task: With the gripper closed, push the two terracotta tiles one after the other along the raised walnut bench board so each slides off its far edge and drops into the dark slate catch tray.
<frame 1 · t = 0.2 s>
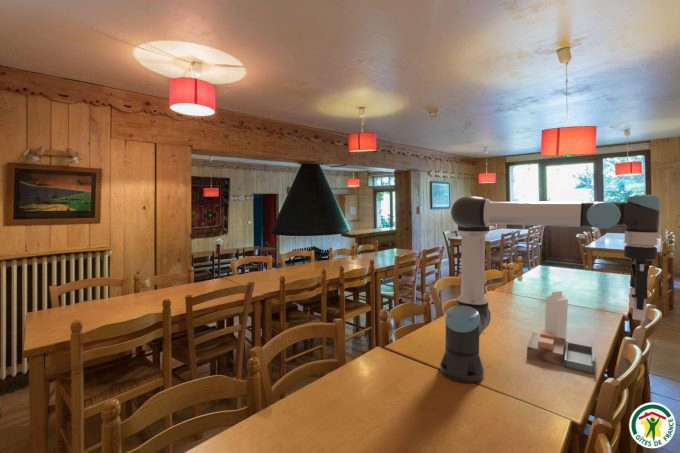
hand: (636, 313, 104), 28 cm above the table, tool pointing down, fingers open, 13 cm apart
tile a: (545, 346, 135), point 4 cm above the table, touching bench
milk: (555, 339, 153), on the table
tile b: (547, 339, 142), point 4 cm above the table, touching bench
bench: (546, 353, 139), on the table
tray: (578, 360, 132), on the table
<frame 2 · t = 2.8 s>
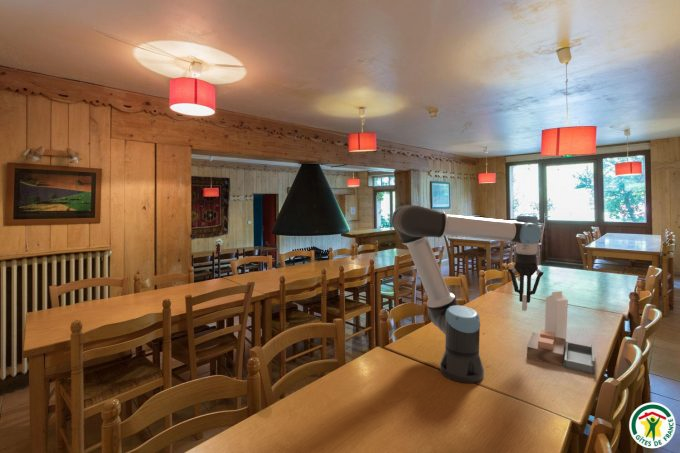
hand: (524, 309, 138), 18 cm above the table, tool pointing down, fingers closed
nothing on the table moved.
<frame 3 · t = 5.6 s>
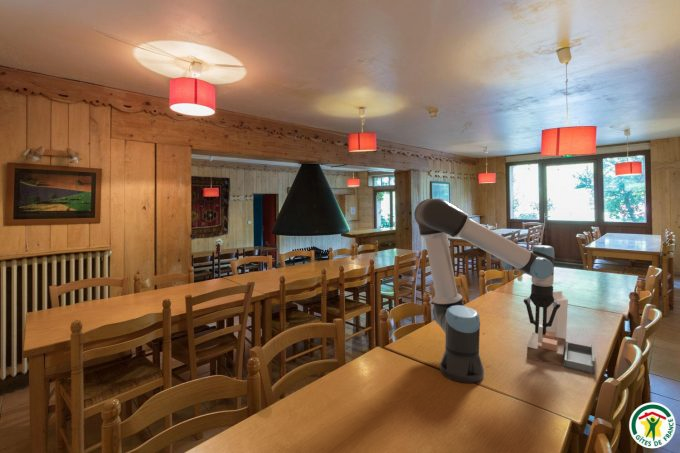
hand: (540, 341, 136), 6 cm above the table, tool pointing down, fingers closed
tile a: (549, 347, 134), point 5 cm above the table
everything else where it was.
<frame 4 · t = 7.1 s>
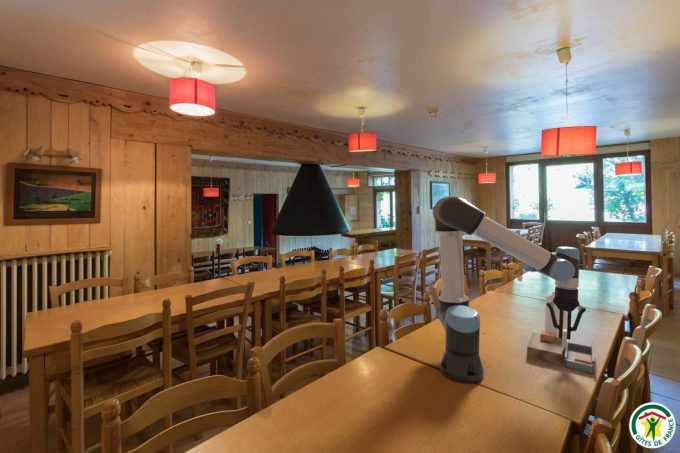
hand: (564, 346, 131), 6 cm above the table, tool pointing down, fingers closed
tile a: (582, 357, 128), point 3 cm above the table, tilted 180°, touching tray
everything else where it was.
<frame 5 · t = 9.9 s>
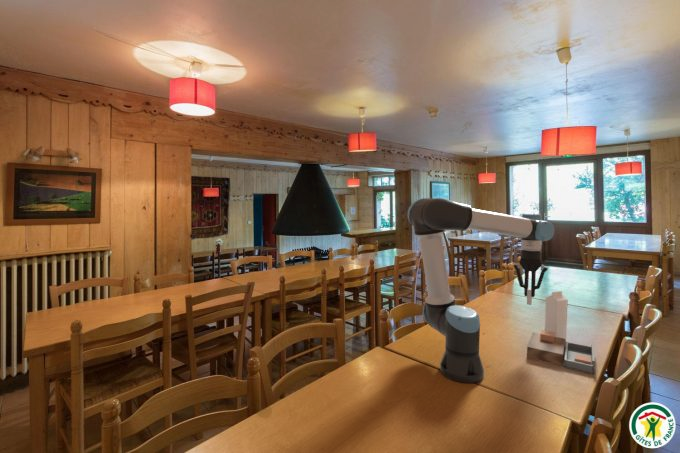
hand: (529, 303, 145), 19 cm above the table, tool pointing down, fingers closed
nothing on the table moved.
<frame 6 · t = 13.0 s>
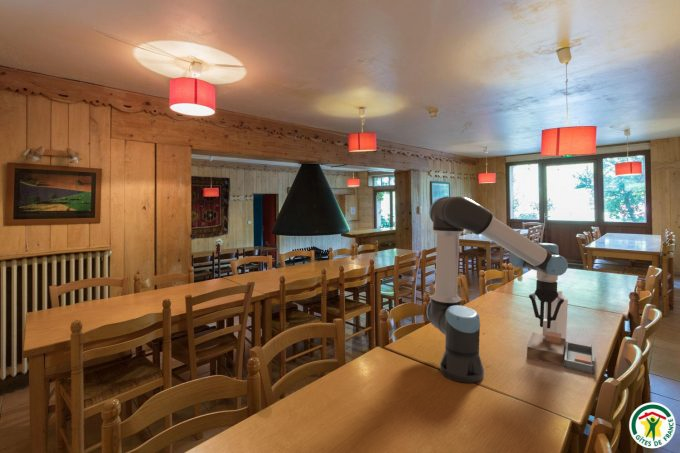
hand: (544, 334, 143), 6 cm above the table, tool pointing down, fingers closed
tile b: (553, 340, 141), point 5 cm above the table, touching gripper
everything else where it was.
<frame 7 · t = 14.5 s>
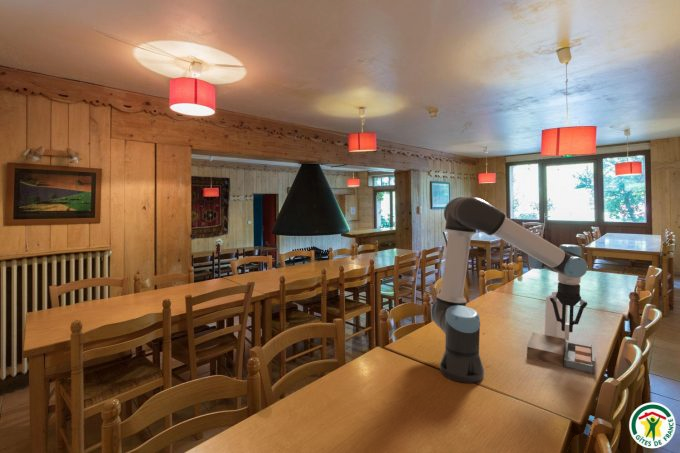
hand: (566, 339, 138), 6 cm above the table, tool pointing down, fingers closed
tile b: (582, 349, 135), point 3 cm above the table, tilted 180°, touching tray
everything else where it was.
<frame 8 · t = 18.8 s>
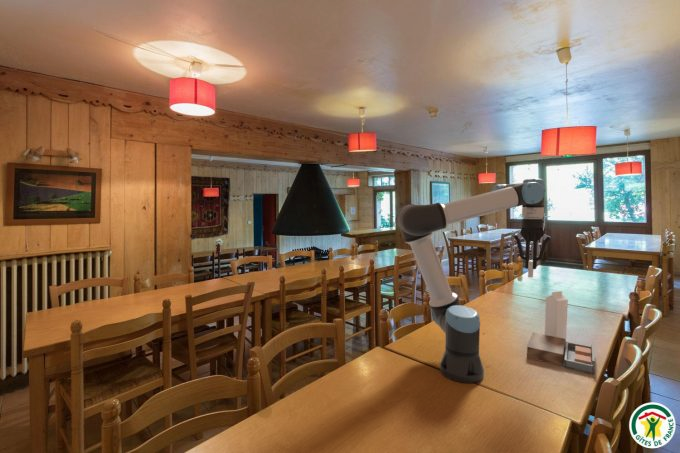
hand: (530, 276, 135), 32 cm above the table, tool pointing down, fingers closed
nothing on the table moved.
at the end: tile a inside the target area on the tray (4.5 cm from its centre), point 3.1 cm above the tray's base; tile b inside the target area on the tray (4.7 cm from its centre), point 3.1 cm above the tray's base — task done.
